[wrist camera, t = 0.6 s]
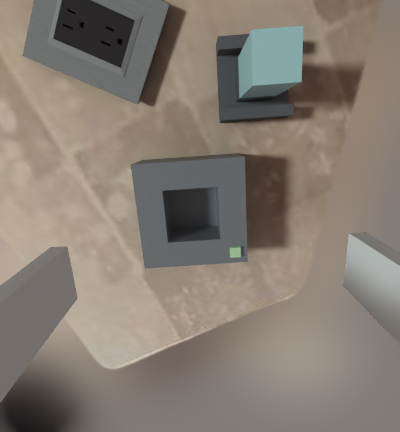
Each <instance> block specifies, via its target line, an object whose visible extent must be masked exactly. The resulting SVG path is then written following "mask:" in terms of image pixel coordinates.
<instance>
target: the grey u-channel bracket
mask: <svg viewBox="0 0 400 432" xmlns="http://www.w3.org/2000/svg"><path fill="white" fill-rule="evenodd" d="M248 36H249V34H244V35H231V36H218V39H217V43H216V54H217V75H218V96H219V117H220V123H223V122H236V121H250V120H264V119H277V118H287V117H288V116H292V115H294V103H293V104H288V90H286V91H284V92H282V93H280V94H279V95H277V96H276V97H274V98H272V99H266V100H253V101H240V102H236V85H235V61H236V59H237V57H239V55H240V53H241V51H242V48H243V46H244V44H245V42H246V40H247V38H248Z"/></svg>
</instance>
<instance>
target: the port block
mask: <svg viewBox="0 0 400 432" xmlns="http://www.w3.org/2000/svg"><path fill="white" fill-rule="evenodd" d="M131 170H132V177H133V184H134V192H135V199H136V206H137V214H138V221H139V228H140V236H141V243H142V250H143V258H144V265H145V268H158V267H173V266H188V265H203V264H218V263H234V262H248V259H247V219H246V178H245V156H242V155H240V154H237V153H236V154H222V155H208V156H194V157H180V158H166V159H152V160H141V161H139V162H136V163H134V164H131Z"/></svg>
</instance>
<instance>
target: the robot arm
mask: <svg viewBox="0 0 400 432" xmlns="http://www.w3.org/2000/svg"><path fill="white" fill-rule="evenodd" d="M343 286H344V287H345V288H346V289H347V290H348V291H349V292H350V293H351V294H352V296H353V297H354V298H355V299H357V301H358V302H359V303H360V304H361V305H362V306H363V307H364V308H365V309H366V310H367V311H368V312H369V313H370V314H371V315H372V316H373V317H374V318H375V319H376V320H377V321H378V323H379V324H380V325H381V326H382V327H383V328H384V329H385V330H386V331H387V332H388V333H389V334H390V335H391V336H392V337H393V338H394V339H395V340H396V341H397V342H398V343H399V344H400V252H399V251H396V250H395V249H393V248H392V247H390V246H388V245H386V244H385V243H383V242H381V241H379V240H378V239H376V238H374V237H373V236H371V235H369V234H367V233H366V232H365V233H349V239H348V248H347V257H346V266H345V275H344V284H343ZM76 299H77V293H76V288H75V283H74V278H73V273H72V268H71V263H70V258H69V253H68V248H67V247H51V248H49V249H48V250H47V251H45V252H44V253H43V254H41V255H40V256H39V257H38V258H36V259H35V260H34V261H32V262H31V263H30V264H28V265H27V266H26V267H24V268H23V269H22V270H20V271H19V272H18V273H17V274H15V275H14V276H13V277H11V278H10V279H9V280H7V281H6V282H5V283H3V284H2V285H1V286H0V402H1V401H2V399H3V398H4V397H5V395H6V394H7V393H8V391H9V390H10V388H11V387H12V386H13V385H14V383H15V382H16V380H17V379H18V378H19V376H20V375H21V374H22V372H23V371H24V370H25V368H26V367H27V366H28V364H29V363H30V362H31V360H32V359H33V358H34V356H35V355H36V353H37V352H38V351H39V349H40V348H41V347H42V345H43V344H44V343H45V341H46V340H47V339H48V337H49V336H50V334H51V333H52V332H53V331H54V329H55V328H56V326H57V325H58V324H59V322H60V321H61V320H62V318H63V317H64V316H65V314H66V313H67V312H68V310H69V309H70V308H71V306H72V305H73V304H74V302H75V301H76Z"/></svg>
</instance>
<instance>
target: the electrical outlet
mask: <svg viewBox="0 0 400 432" xmlns="http://www.w3.org/2000/svg"><path fill="white" fill-rule="evenodd" d="M169 6H170V4H168V3H166V2H164V1H162V0H34V4H33V8H32V13H31V18H30V23H29V28H28V33H27V38H26V43H25V48H24V53H23V56H24V57H27V58H29V59H31V60H34V61H36V62H39V63H41V64H43V65H46V66H48V67H50V68H53V69H55V70H57V71H60V72H62V73H65V74H67V75H69V76H72V77H74V78H76V79H79V80H81V81H83V82H86V83H88V84H90V85H93V86H95V87H98V88H100V89H102V90H105V91H107V92H109V93H112V94H114V95H116V96H119V97H121V98H124V99H126V100H128V101H131V102H133V103H135V104H138V103H139V100H140V97H141V94H142V91H143V88H144V85H145V81H146V78H147V75H148V72H149V69H150V66H151V63H152V59H153V56H154V53H155V50H156V47H157V44H158V41H159V38H160V34H161V31H162V28H163V25H164V22H165V19H166V16H167V13H168V9H169Z"/></svg>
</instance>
